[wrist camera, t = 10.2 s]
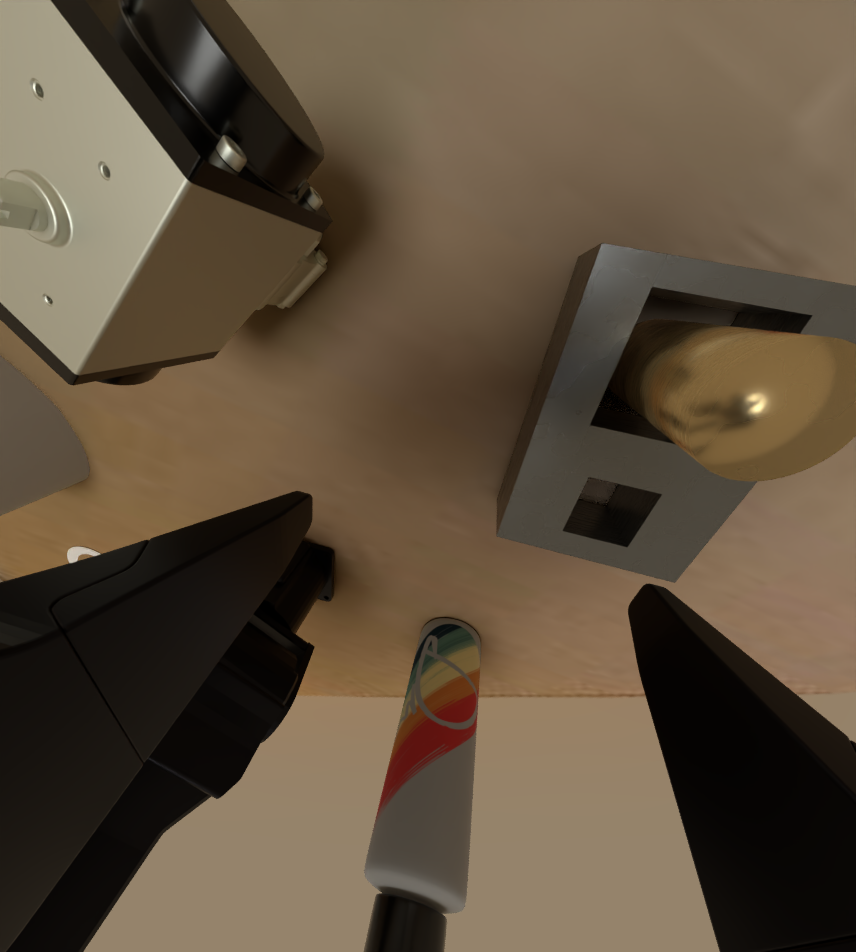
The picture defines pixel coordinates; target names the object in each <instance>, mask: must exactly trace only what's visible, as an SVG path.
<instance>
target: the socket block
mask: <svg viewBox="0 0 856 952" xmlns="http://www.w3.org/2000/svg"><path fill="white" fill-rule="evenodd" d="M648 296H653V297H659V298H664V299H670V300H675V301H681V302H686V303H692V304H697V305H703V306H708V307H714V308H719V309H725V310H730V311H736V312H739V314H738V316H737V317H736V319H735V321H734V322H733V324H732V326H731V327H741V328H750V329H759V330H768V331H778V332H787V333H796V334H806V335H815V336H824V337H833V338H839V339H843V340H847V341H850V342H852V343H854V344H856V286H852V285H846V284H841V283H835V282H829V281H823V280H817V279H811V278H805V277H799V276H793V275H787V274H781V273H776V272H770V271H764V270H758V269H752V268H746V267H740V266H734V265H728V264H722V263H717V262H711V261H705V260H699V259H693V258H687V257H681V256H675V255H669V254H663V253H658V252H652V251H646V250H640V249H634V248H628V247H622V246H616V245H610V244H604V243H601V244H600V245H598V246H596V247H594V248H593V249H591V250H589V251H588V252H586V253H584V254H582V255H581V256H579V257H578V260H577V263H576V266H575V269H574V272H573V275H572V278H571V281H570V284H569V287H568V290H567V293H566V296H565V299H564V302H563V305H562V308H561V311H560V314H559V317H558V320H557V323H556V326H555V329H554V332H553V335H552V337H551V340H550V343H549V346H548V349H547V352H546V355H545V358H544V361H543V364H542V367H541V370H540V373H539V376H538V379H537V382H536V385H535V388H534V391H533V394H532V397H531V400H530V403H529V406H528V409H527V412H526V415H525V418H524V421H523V424H522V427H521V430H520V433H519V436H518V439H517V442H516V445H515V448H514V451H513V454H512V457H511V460H510V463H509V466H508V469H507V472H506V475H505V478H504V481H503V483H502V486H501V489H500V492H499V495H498V498H497V531H496V536H497V537H501V538H505V539H509V540H513V541H516V542H520V543H524V544H528V545H532V546H536V547H539V548H543V549H547V550H551V551H555V552H559V553H563V554H566V555H570V556H574V557H578V558H582V559H586V560H589V561H593V562H597V563H601V564H605V565H609V566H612V567H616V568H620V569H624V570H628V571H632V572H636V573H639V574H643V575H647V576H651V577H655V578H659V579H662V580H666V581H670V582H674V583H675V582H676V581H677V579H678V578H679V577H680V576H681V574H682V573H683V572H684V571H685V570H686V568H687V567H688V566H689V565H690V563H691V562H692V561H693V560H694V559H695V557H696V556H697V555H698V554H699V552H700V551H701V550H702V549H703V548H704V546H705V545H706V544H707V543H708V541H709V540H710V539H711V538H712V536H713V535H714V534H715V533H716V532H717V530H718V529H719V528H720V527H721V525H722V524H723V523H724V522H725V521H726V519H727V518H728V517H729V516H730V514H731V513H732V512H733V511H734V510H735V508H736V507H737V506H738V505H739V503H740V502H741V501H742V500H743V499H744V497H745V496H746V495H747V494H748V492H749V491H750V490H751V489H752V488H753V486H754V485H755V484H756V483H757V481H738V480H732V479H728V478H724V477H721V476H719V475H716V474H714V473H712V472H711V471H709V470H707V469H706V468H705V467H704V466H702V465H701V464H700V463H699V462H697V461H696V460H695V459H694V458H693V457H691V456H690V455H689V454H688V453H686V452H685V451H684V450H683V449H681V448H680V447H679V446H678V445H677V444H675V443H674V442H673V441H672V440H670V439H669V438H668V437H667V436H665V435H664V434H663V433H662V432H661V431H659V430H658V429H657V428H656V427H654V426H653V425H652V424H651V423H650V422H648V421H647V420H646V419H645V418H643V417H642V416H637V415H633V414H628V413H624V412H619V411H614V410H610V409H605V408H600V407H598V406H599V403H600V401H601V399H602V397H603V394H604V392H605V390H606V388H607V386H608V383H609V381H610V379H611V377H612V374H613V372H614V370H615V368H616V366H617V363H618V361H619V359H620V357H621V355H622V352H623V350H624V348H625V346H626V343H627V341H628V339H629V337H630V335H631V332H632V330H633V328H634V326H635V324H636V321H637V319H638V317H639V315H640V312H641V310H642V308H643V306H644V304H645V301H646V299H647V297H648ZM589 477H592V478H596V479H600V480H604V481H608V482H613V483H617V484H619V485H618V486H617V488H616V490H615V492H614V494H613V495H612V497H611V499H610V501H609V503H608V504H607V506H603V505H599V504H595V503H591V502H587V501H582V500H578V498H579V496H580V494H581V492H582V490H583V488H584V486H585V484H586V482H587V480H588V478H589Z"/></svg>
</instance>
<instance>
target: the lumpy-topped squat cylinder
mask: <svg viewBox="0 0 856 952" xmlns="http://www.w3.org/2000/svg"><path fill="white" fill-rule="evenodd" d="M89 472H90V468H89V463H88V459H87V456H86V453H85V451H84V448H83V446H82V444H81V442H80V441H79V439H78V437H77V436H76V434H75V432H74V431H73V429H72V428H71V426H70V425H69V423H68V422H67V420H66V419H65V417H64V416H63V414H62V413H61V412H60V410H59V409H58V408H57V407H56V406H55V405H54V404H53V403H52V401H51V400H50V399H49V398H48V397H46V396H45V395H44V394H43V393H42V392H41V391H40V390H39V389H38V388H37V387H36V386H35V385H34V384H33V383H32V382H31V381H29V380H28V379H27V378H26V377H25V376H24V375H23V374H22V373H21V372H19V371H18V370H17V369H16V368H15V367H14V366H12V365H11V364H10V363H9V362H7V361H6V360H5V359H4V358H2V357H1V356H0V516H1V515H3V514H6V513H8V512H10V511H13V510H15V509H18V508H20V507H22V506H25V505H27V504H29V503H32V502H34V501H37V500H39V499H41V498H44V497H46V496H48V495H51V494H53V493H55V492H58V491H60V490H62V489H65V488H67V487H69V486H72V485H74V484H76V483H79V482H81V481H83V480H85V479H86V478H87V477H88V476H89Z"/></svg>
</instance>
